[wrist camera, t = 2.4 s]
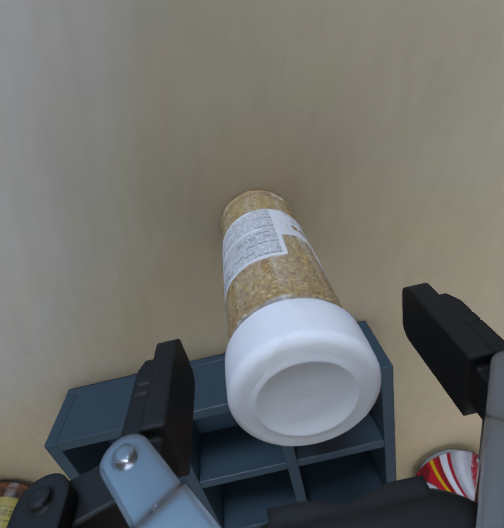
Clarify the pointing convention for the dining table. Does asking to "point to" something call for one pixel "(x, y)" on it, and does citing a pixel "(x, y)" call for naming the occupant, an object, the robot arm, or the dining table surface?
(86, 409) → the compartment organizer tray
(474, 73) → the dining table surface
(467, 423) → the dining table surface
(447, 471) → the soda can
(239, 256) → the spice jar
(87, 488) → the robot arm
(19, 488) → the sauce bottle
